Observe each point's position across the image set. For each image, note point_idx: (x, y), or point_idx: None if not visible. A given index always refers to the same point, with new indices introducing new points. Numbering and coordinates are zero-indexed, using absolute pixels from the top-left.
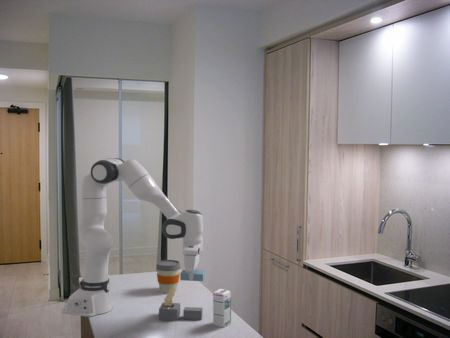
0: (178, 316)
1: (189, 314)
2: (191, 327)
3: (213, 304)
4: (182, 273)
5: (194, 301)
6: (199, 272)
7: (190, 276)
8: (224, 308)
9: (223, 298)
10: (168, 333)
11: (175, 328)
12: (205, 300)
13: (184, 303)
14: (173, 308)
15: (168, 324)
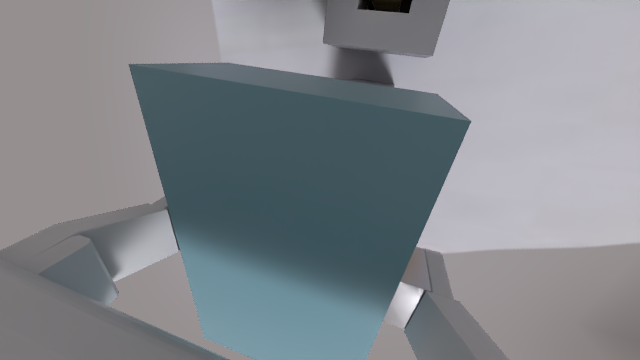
0: (375, 51)
1: None
2: None
3: None
4: (147, 113)
5: (625, 140)
6: (266, 338)
7: (161, 216)
8: None
9: None
10: (215, 21)
11: (260, 48)
12: (607, 199)
13: (617, 75)
14: (340, 16)
15: (297, 6)
